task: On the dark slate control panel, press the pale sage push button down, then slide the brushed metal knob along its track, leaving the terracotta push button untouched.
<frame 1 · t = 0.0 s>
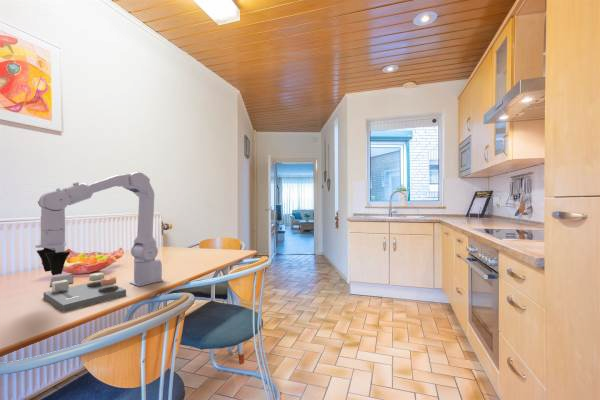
hand: (53, 272, 86), 10 cm above the table, tool pointing down, fingers open, 7 cm apart
terracotta button: (108, 281, 94), point 5 cm above the table, slide at 0.0 cm
control panel: (85, 296, 93), on the table
slider knob: (60, 286, 92), point 4 cm above the table, slide at 0.0 cm
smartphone: (62, 282, 111), on the table
sage button: (96, 276, 100), point 5 cm above the table, slide at 0.0 cm
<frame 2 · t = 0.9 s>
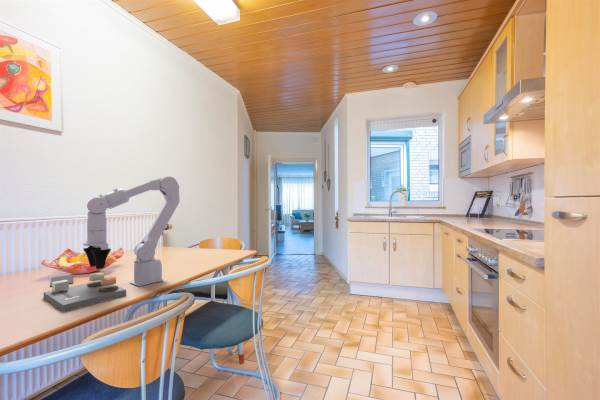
hand: (96, 267, 100), 8 cm above the table, tool pointing down, fingers open, 5 cm apart
nothing on the table moved.
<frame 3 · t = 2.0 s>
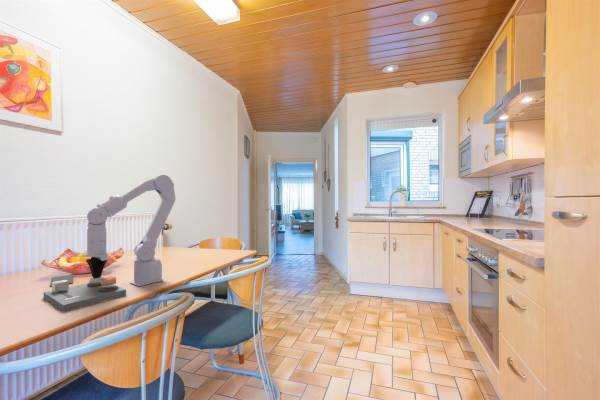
hand: (96, 277, 99), 5 cm above the table, tool pointing down, fingers closed, pressing on sage button
sage button: (96, 280, 100), point 4 cm above the table, slide at 1.2 cm, touching gripper
everything else where it was.
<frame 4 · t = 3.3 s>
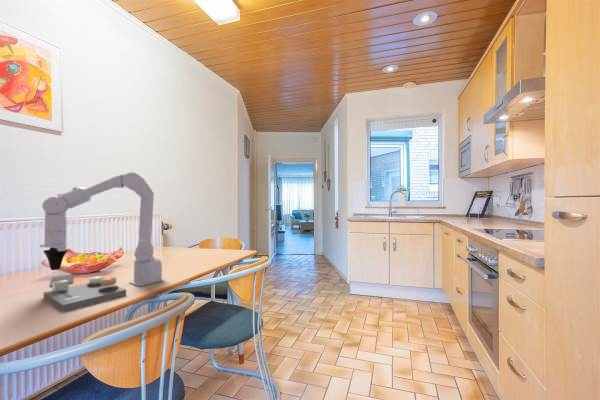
hand: (55, 269, 96), 9 cm above the table, tool pointing down, fingers closed
sage button: (96, 280, 100), point 4 cm above the table, slide at 1.2 cm
everything else where it was.
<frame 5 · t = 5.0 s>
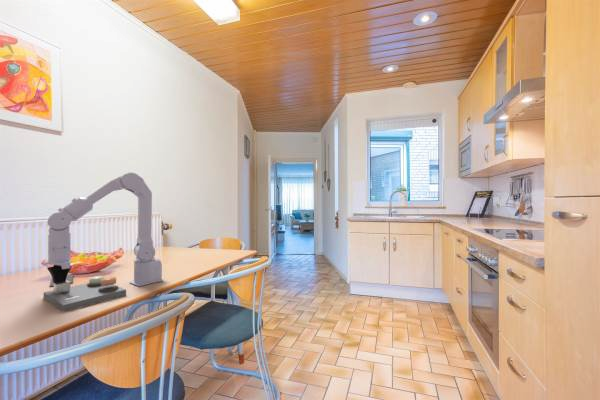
hand: (59, 287, 93), 3 cm above the table, tool pointing down, fingers closed
slider knob: (61, 286, 91), point 4 cm above the table, slide at 1.6 cm, touching gripper
everything else where it was.
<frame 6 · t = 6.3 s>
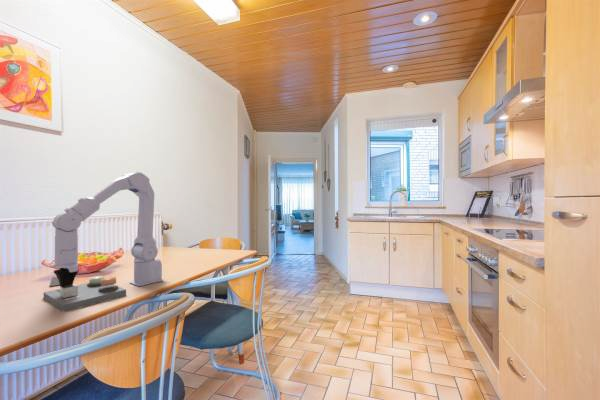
hand: (66, 290, 89), 3 cm above the table, tool pointing down, fingers closed
slider knob: (69, 290, 87), point 4 cm above the table, slide at 8.7 cm, touching gripper
everything else where it was.
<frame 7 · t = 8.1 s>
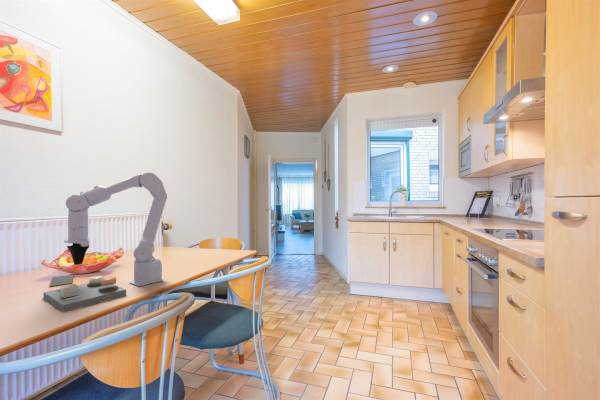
hand: (78, 264, 100), 9 cm above the table, tool pointing down, fingers closed
slider knob: (69, 290, 87), point 4 cm above the table, slide at 8.7 cm
everything else where it was.
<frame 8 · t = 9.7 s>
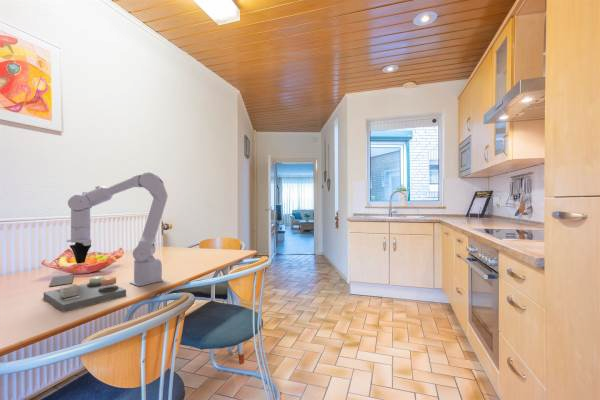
hand: (80, 263, 102), 9 cm above the table, tool pointing down, fingers closed
nothing on the table moved.
at the end: sage button slide at 1.2 cm; slider knob slide at 8.7 cm; terracotta button slide at 0.0 cm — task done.
